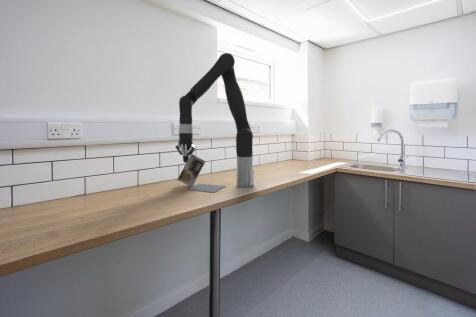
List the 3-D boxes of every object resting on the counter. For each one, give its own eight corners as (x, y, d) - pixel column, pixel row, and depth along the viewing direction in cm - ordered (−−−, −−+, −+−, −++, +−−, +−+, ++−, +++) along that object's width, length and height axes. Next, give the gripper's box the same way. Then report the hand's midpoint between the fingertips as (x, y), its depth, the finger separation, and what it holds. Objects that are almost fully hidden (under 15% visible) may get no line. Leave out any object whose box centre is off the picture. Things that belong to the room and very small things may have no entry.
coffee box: (193, 184, 155) (206, 161, 152) (190, 187, 149) (204, 163, 146) (180, 177, 155) (192, 153, 152) (176, 179, 149) (189, 155, 146)
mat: (226, 186, 151) (226, 185, 151) (214, 192, 137) (214, 192, 137) (199, 184, 158) (199, 183, 157) (185, 189, 144) (185, 189, 144)
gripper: (199, 132, 150) (199, 162, 152) (179, 131, 154) (179, 160, 157) (192, 132, 143) (192, 164, 145) (172, 131, 147) (172, 162, 150)
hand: (185, 162), depth 151 cm, fingers closed
